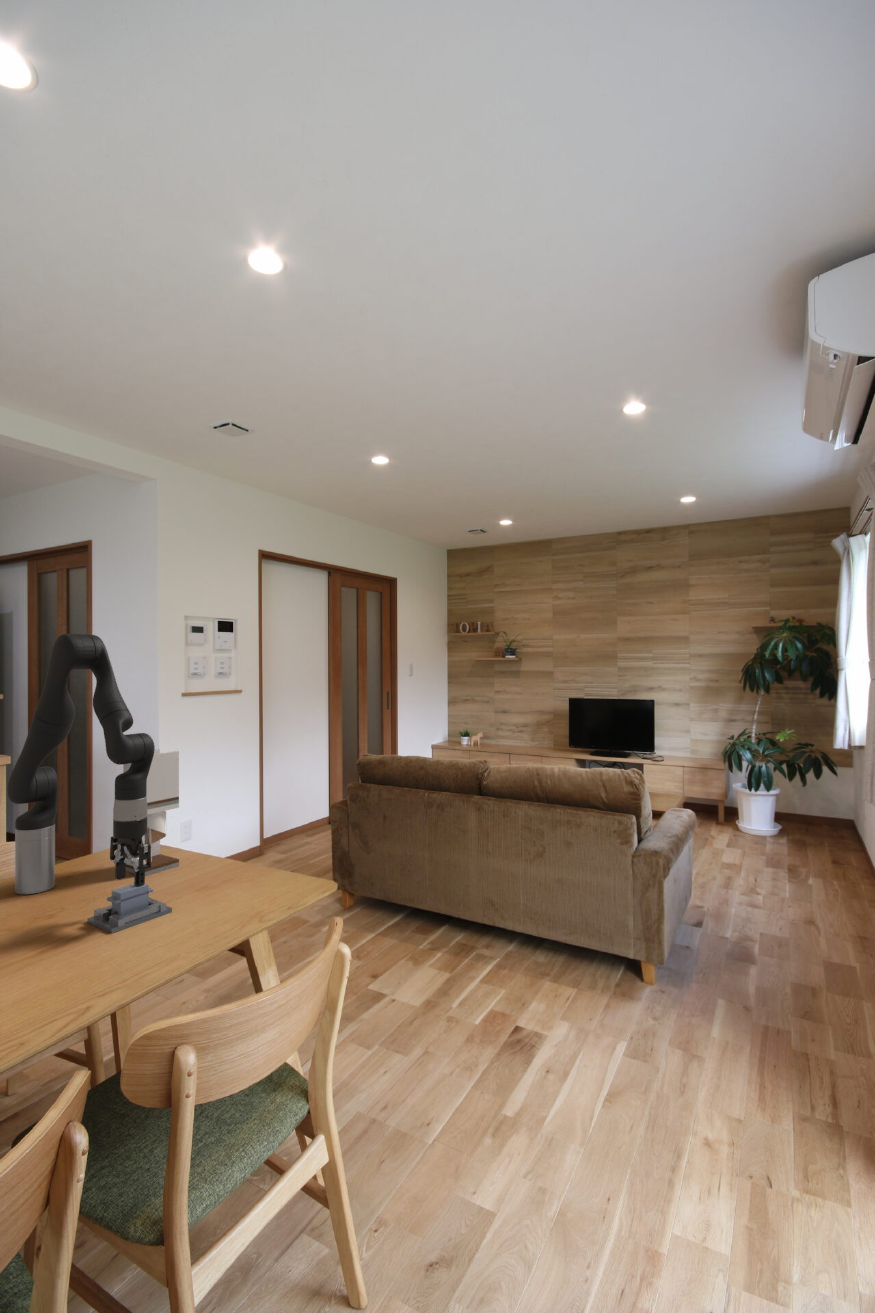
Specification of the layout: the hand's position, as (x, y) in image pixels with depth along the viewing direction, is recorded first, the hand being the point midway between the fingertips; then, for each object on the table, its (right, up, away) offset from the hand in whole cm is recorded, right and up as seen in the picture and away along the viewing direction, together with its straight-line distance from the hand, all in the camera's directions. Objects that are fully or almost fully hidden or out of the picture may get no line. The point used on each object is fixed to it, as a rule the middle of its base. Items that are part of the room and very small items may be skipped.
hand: (129, 882), depth 153 cm
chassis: (0, -8, 0) cm, 8 cm away
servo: (0, -7, 0) cm, 7 cm away
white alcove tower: (-12, -9, +37) cm, 40 cm away
